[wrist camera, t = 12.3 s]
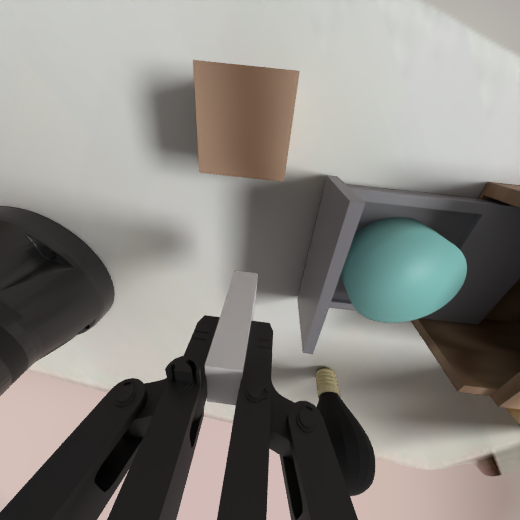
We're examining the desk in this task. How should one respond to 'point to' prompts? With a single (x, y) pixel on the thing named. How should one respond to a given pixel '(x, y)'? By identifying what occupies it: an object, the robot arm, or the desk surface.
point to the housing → (483, 337)
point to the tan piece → (515, 414)
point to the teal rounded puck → (401, 270)
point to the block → (244, 119)
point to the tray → (431, 214)
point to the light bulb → (345, 435)
